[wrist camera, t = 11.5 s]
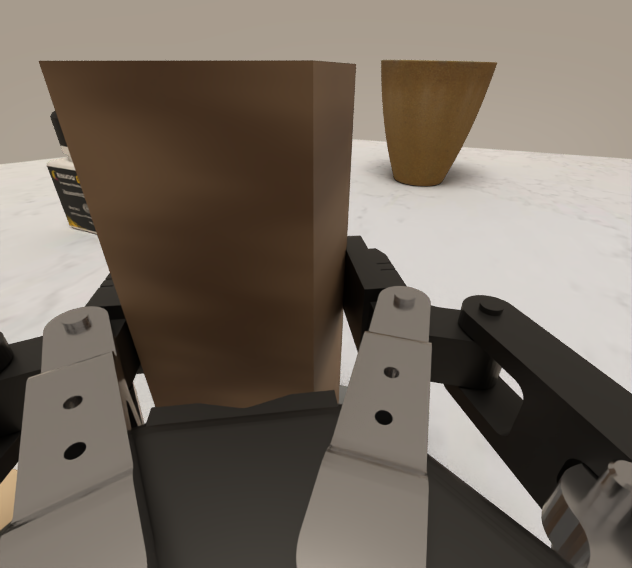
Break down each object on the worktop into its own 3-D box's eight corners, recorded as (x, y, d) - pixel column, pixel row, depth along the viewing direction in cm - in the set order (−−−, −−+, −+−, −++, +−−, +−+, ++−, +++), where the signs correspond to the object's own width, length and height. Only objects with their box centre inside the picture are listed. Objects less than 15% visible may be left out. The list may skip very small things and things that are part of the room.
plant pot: (418, 200, 48) (440, 59, 39) (353, 175, 59) (359, 60, 50) (490, 184, 54) (522, 59, 46) (419, 164, 65) (435, 60, 57)
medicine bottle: (69, 228, 40) (22, 107, 33) (123, 208, 45) (92, 101, 39) (113, 239, 37) (72, 111, 31) (165, 217, 43) (140, 104, 36)
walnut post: (192, 517, 13) (38, 60, 6) (241, 416, 17) (186, 63, 9) (313, 549, 12) (313, 60, 5) (336, 435, 16) (355, 64, 9)
